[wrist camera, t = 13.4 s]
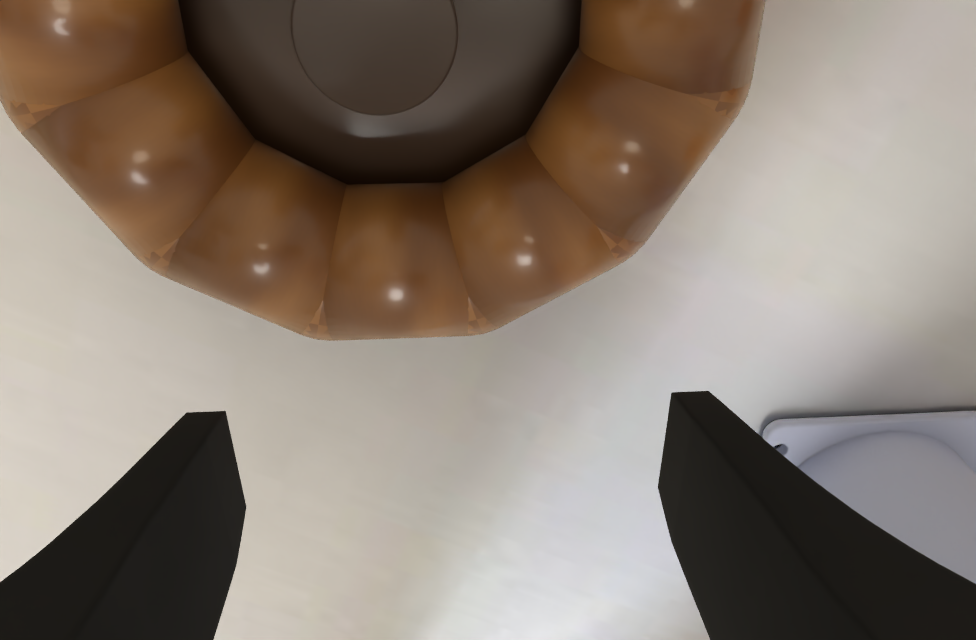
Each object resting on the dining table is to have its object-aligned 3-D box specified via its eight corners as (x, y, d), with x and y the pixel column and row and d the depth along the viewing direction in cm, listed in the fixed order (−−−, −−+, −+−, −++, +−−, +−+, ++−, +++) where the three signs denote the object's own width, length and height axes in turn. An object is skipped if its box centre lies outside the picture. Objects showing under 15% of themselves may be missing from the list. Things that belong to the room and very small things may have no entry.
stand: (594, 182, 21) (656, 302, 15) (208, 192, 20) (123, 321, 14) (627, -297, 15) (741, -386, 10) (112, -302, 15) (-77, -398, 9)
